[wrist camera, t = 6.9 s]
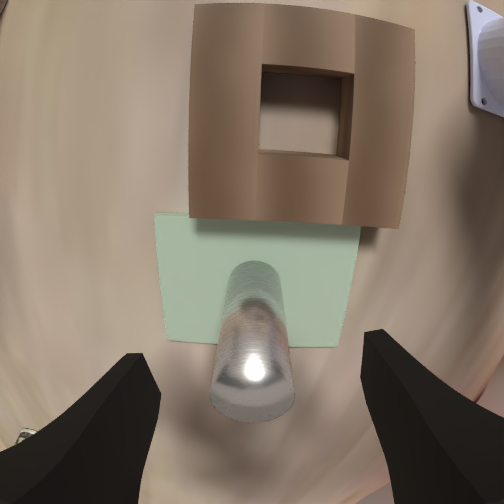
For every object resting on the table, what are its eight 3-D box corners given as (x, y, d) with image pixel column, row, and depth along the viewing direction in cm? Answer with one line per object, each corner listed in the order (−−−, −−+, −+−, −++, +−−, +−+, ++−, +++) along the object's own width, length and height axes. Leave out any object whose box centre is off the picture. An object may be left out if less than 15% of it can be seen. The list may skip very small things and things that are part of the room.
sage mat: (359, 221, 18) (361, 224, 18) (335, 341, 22) (337, 346, 21) (157, 212, 18) (154, 215, 18) (168, 334, 22) (166, 339, 21)
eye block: (395, 38, 14) (414, 29, 11) (382, 215, 18) (398, 229, 16) (203, 18, 14) (194, 4, 11) (198, 205, 18) (189, 218, 16)
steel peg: (277, 257, 19) (291, 365, 10) (283, 303, 20) (297, 418, 12) (223, 264, 19) (200, 373, 11) (233, 309, 20) (220, 424, 12)
